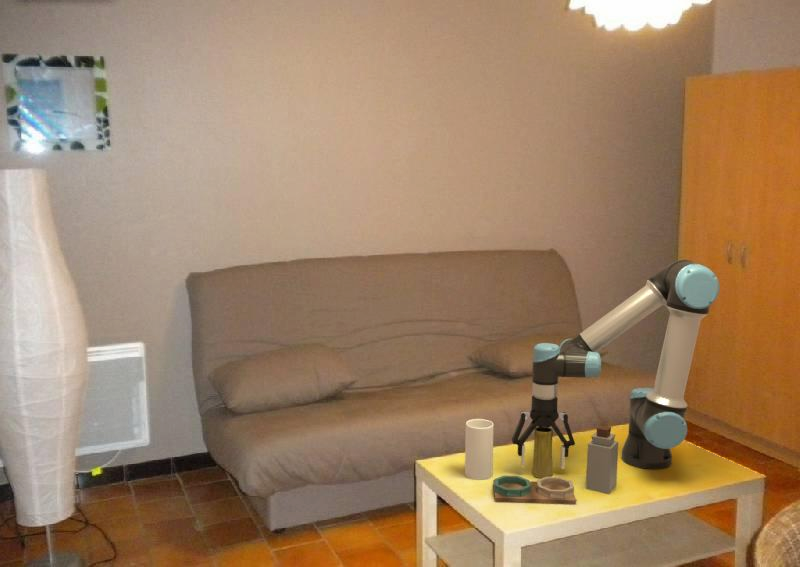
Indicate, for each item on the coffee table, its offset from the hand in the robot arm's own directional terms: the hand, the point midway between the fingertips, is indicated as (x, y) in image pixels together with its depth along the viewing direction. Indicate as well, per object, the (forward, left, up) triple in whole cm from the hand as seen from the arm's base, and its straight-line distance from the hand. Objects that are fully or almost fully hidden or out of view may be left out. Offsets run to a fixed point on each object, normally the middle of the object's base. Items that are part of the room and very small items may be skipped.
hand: (542, 466), depth 235 cm
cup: (+19, +1, -3) cm, 19 cm away
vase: (0, 0, -3) cm, 3 cm away
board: (+4, +14, -3) cm, 15 cm away
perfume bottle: (-16, +8, -3) cm, 18 cm away
